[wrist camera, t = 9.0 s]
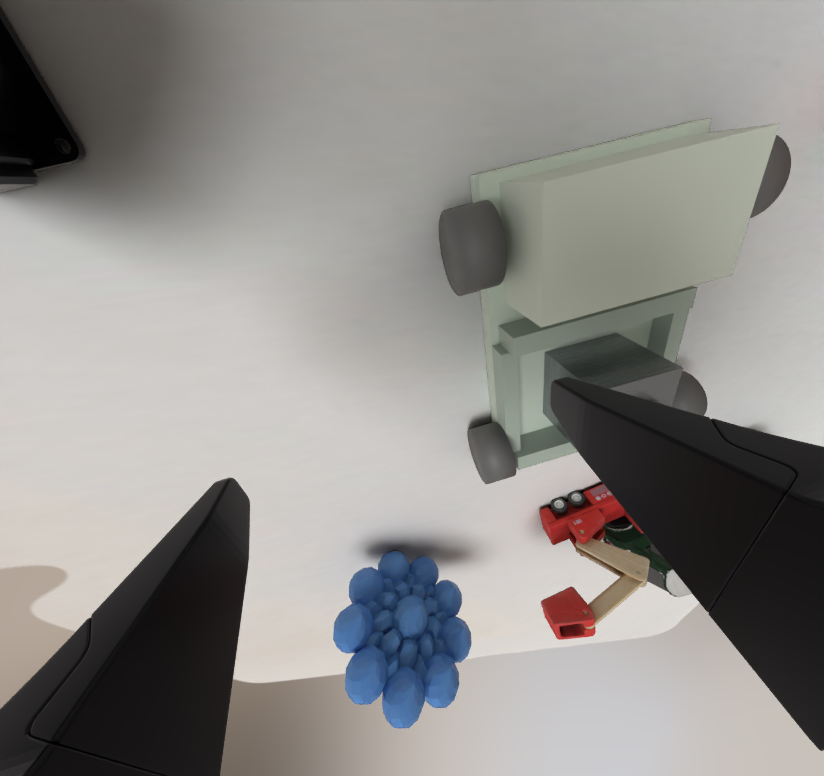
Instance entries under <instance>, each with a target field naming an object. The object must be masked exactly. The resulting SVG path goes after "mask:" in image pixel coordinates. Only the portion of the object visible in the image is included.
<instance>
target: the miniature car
mask: <svg viewBox="0 0 824 776" xmlns="http://www.w3.org/2000/svg"><path fill="white" fill-rule="evenodd" d="M605 524H606V525H608V526H609V527H607V526H605V527H604V526H603V528H604V530H605V536H604V537H603V539H602V540H601V542H605V543H607V544H610V545H612V546H615V547H618V548H621V549H623V550H626V551H629V552H632V553H634V554H637V555H640V556H643V557H646V558H647V559H649V561H650V563H649V571H648V577H647V581H648V582H650V583H652V584H654V585H656V586H658V587H660V588H662V589H664V590H665V591H667V592H669V593H670V594H671V595H673V596H676V597H682V596H685V595H689V594H692V593H691V591H690V590H689V589H688V588H687V586H686V585H685V584H684V583H683V581H682V580H681V579H680V578H679V576H678V575H677V574H676V573H675V572H674V570H673V569H672V568H671V567H670V565H669V564H668V563H667V562H666V560H665V559H664V558H663V557H662V555H661V554H660V553H659V552H658V550H657V549H656V548H655V547H654V546H653V544H652V543H651V542H650V541H649V539H648V538H647V537H646V536H645V534H644V533H641V532H640V531H639V530H638V529H637V528H636V527H635V526H634V525H633V524H632V523H631V522H630V521H629V519H628V518H627V517H626V516H625V515H624V516H622V517H619V518H617V519H615V520H612V521H610V522H607V523H605ZM606 527H607V528H606ZM603 540H604V541H603Z"/></svg>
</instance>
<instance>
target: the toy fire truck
mask: <svg viewBox="0 0 824 776" xmlns="http://www.w3.org/2000/svg"><path fill="white" fill-rule="evenodd" d="M568 501H569V502H567V503H566V502H565V500H563V499H561V498H556V499H554V500H553V501H552V502H551V508H552V509H549V508H548V507H546V508H544V509H541V510H540V511H539V513H540V517H541V520H542V524H543V528H544V530H545V532H546V533H547V535H548V537H549V539H550V540H551V543H552V544H553V545H555V544H557V543H560V542H562V541H565V540H567V539H570V541H571V542H572V543H573V545H574V547H575V548H576V552H578V553H579V554H580V555H581V556H585V557H586V558H588V559H590V560H592V561H593V562H595V563H597V564H599V565H601V566H602V567H604V568H606V569H608V570H609V571H611V572H613V573H615V574H616V575H618V576H620V578H619V579H618V580H617V581H615V582H614V583H613V584H612V585H611V586H609V587H608V588H607V589H606V590H605V591H604V592H602V593H601V594H600V595H599V596H598V597H596V598H595V599H594V600H593V601H592V602H591V603H589V604H588V605H587V603H586V602H585V601H584V600H583V598H582V597H581V596H580V595H579V594H578V592H577V591H576V590H575V589H574V588H573V587H569V588H567V589H565V590H563V591H561V592H559V593H557V594H555V595H553V596H550V597H548V598H546V599H544V600H542V601H541V605H542V607H543V611H544V614H545V618H546V619H547V621H548V623H549V625H550V627H551V628H552V630H553V632H554V634H555V636H556V637H557V639H571V638H580V637H590V636H593V635H594V634H595V625H596V624H597V623H599V622H600V621H601V620H602V619H603V618H605V617H606V616H607V615H608V614H609V613H611V612H612V611H613V610H614V609H615V608H616V607H617V606H618V605H620V604H621V603H622V602H623V601H624V600H626V599H627V598H628V597H629V596H630V595H631V594H632V593H634V592H635V591H636V590H637V589H638V588H639V587H645V586H646V583H647V577H648V571H649V563H650V561H649V559H647V558H646V557H643V556H640V555H637V554H634V553H632V552H629V551H626V550H623V549H621V548H618V547H615V546H612V545H610V544H607V543H604V542H601V540H602V539H603V537H604V536H605V530H604V528H603V524H605V523H607V522H610V521H612V520H615V519H617V518H619V517H622V516H624V515H625V516H626V517H627V518H628V519H629V521H630V522H631V523H632V524H633V525H634V526H635V527H636V528H637V529H638V530H639V531H640V532H641V533H643V532H642V531H641V529H640V528H639V527H638V526H637V524H636V523H635V522H634V521H633V520H632V518H631V517H630V516H629V515H628V513H627V512H626V511H625V510H624V508H623V507H622V506H621V505H620V503H619V502H618V501H617V500H616V498H615V497H614V496H613V495H612V494H611V492H610V491H609V490H608V489H607V487H606V486H605V485H604V484H601V485H599V486H596V487H595V488H591V489H590V490H587V491H585V492H583V495H582V494H581V493H579V492H571V493H570V494H569V495H568Z"/></svg>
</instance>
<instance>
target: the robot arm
mask: <svg viewBox="0 0 824 776" xmlns="http://www.w3.org/2000/svg"><path fill="white" fill-rule="evenodd" d="M62 140H66V141H67V142H68V143H69V144H70V147H71V152H70V153H67V152H66V151H65V150H64V149H63V148H62V145H61V143H62ZM84 157H85V149H84V147H83V144H82V142H81V141H80V139H79V137H78V136H77V134H76V132H75V131H74V129H73V127H72V126H71V124H70V122H69V121H68V119H67V117H66V116H65V114H64V112H63V111H62V109H61V107H60V106H59V104H58V102H57V101H56V99H55V97H54V96H53V94H52V92H51V91H50V89H49V87H48V86H47V84H46V82H45V81H44V79H43V77H42V76H41V74H40V72H39V71H38V69H37V67H36V66H35V64H34V62H33V61H32V59H31V57H30V56H29V54H28V52H27V51H26V49H25V47H24V46H23V44H22V42H21V41H20V39H19V37H18V36H17V34H16V32H15V31H14V29H13V27H12V26H11V24H10V22H9V21H8V19H7V17H6V16H5V14H4V12H3V11H2V9H1V7H0V193H2V192H6V191H10V190H15V189H19V188H23V187H28V186H32V185H36V184H37V181H38V178H39V177H38V176H37V174H36V173H35V172H36V171H40V170H45V169H49V168H54V167H58V166H62V165H67V164H71V163H76V162H79V161H81V160H83V159H84ZM550 406H551V409H552V411H553V413H554V415H555V416H556V418H557V419H558V421H559V423H560V424H561V426H562V427H563V429H564V430H565V432H566V434H567V435H568V437H569V438H570V440H571V441H572V443H573V445H574V446H575V448H576V449H577V451H578V452H579V454H580V455H581V456H582V457H583V459H584V460H585V461H586V463H587V464H588V465H589V466H590V468H591V469H592V470H593V471H594V472H595V474H596V475H597V476H598V477H599V479H600V480H601V481H602V482H603V484H604V485H605V486H606V487H607V489H608V490H609V491H610V492H611V494H612V495H613V496H614V497H615V498H616V500H617V501H618V502H619V503H620V505H621V506H622V507H623V508H624V510H625V511H626V512H627V513H628V515H629V516H630V517H631V518H632V520H633V521H634V522H635V523H636V524H637V526H638V527H639V528H640V529H641V531H642V532H643V533H644V534H645V536H646V537H647V538H648V539H649V541H650V542H651V543H652V544H653V546H654V547H655V548H656V549H657V550H658V552H659V553H660V554H661V555H662V557H663V558H664V559H665V560H666V562H667V563H668V564H669V565H670V567H671V568H672V569H673V570H674V572H675V573H676V574H677V575H678V576H679V578H680V579H681V580H682V581H683V583H684V584H685V585H686V586H687V588H688V589H689V590H690V591H691V593H692V594H693V595H694V596H695V598H696V599H697V600H698V601H699V602H700V604H701V605H702V606H703V607H704V609H705V610H706V611H707V612H709V615H710V616H711V618H712V619H713V620H714V621H715V623H716V624H717V625H718V626H719V627H720V629H721V630H722V631H723V633H724V634H725V635H726V636H727V637H728V639H729V640H730V641H731V642H732V644H733V645H734V646H735V647H736V649H737V650H738V651H739V652H740V654H741V655H742V656H743V657H744V659H745V660H746V661H747V662H748V663H749V665H750V666H751V667H752V668H753V670H754V671H755V672H756V673H757V675H758V676H759V677H760V678H761V679H762V681H763V682H764V683H765V684H766V686H767V687H768V688H769V689H770V691H771V692H772V693H773V694H774V696H775V697H776V698H777V699H778V701H779V702H780V703H781V704H782V706H783V707H784V708H785V709H786V710H787V712H788V713H789V714H790V715H791V717H792V718H793V719H794V720H795V722H796V723H797V724H798V725H799V727H800V728H801V729H802V730H803V732H804V733H805V734H806V735H807V736H808V738H809V739H810V740H811V741H812V742H813V743H814V744H815V745H816V747H817V748H818V749H819V750H821V751H823V750H824V447H822V446H817V445H813V444H809V443H805V442H800V441H796V440H792V439H788V438H784V437H780V436H776V435H771V434H767V433H763V432H759V431H756V430H752V429H748V428H745V427H741V426H737V425H734V424H730V423H727V422H723V421H720V420H716V419H710V418H709V417H706V416H702V415H699V414H695V413H692V412H688V411H685V410H681V409H678V408H674V407H671V406H667V405H664V404H660V403H657V402H654V401H650V400H647V399H643V398H640V397H636V396H633V395H629V394H626V393H622V392H619V391H615V390H612V389H608V388H605V387H601V386H598V385H594V384H591V383H587V382H584V381H580V380H577V379H573V378H570V377H562V378H559V379H556V380H553V381H552V383H551V393H550ZM249 529H250V501H249V498H248V496H247V495H246V493H245V492H244V491H243V489H242V488H241V487H240V485H239V484H238V482H237V481H236V480H235V479H234V478H227V479H223V480H220V481H217V482H215V483H214V484H213V485H212V486H211V487H210V488H209V489H208V490H207V492H206V493H205V494H204V495H203V496H202V497H201V498H200V499H199V500H198V501H197V502H196V503H195V504H194V506H193V507H192V508H191V509H190V510H189V511H188V512H187V513H186V514H185V515H184V516H183V517H182V518H181V519H180V521H179V522H178V523H177V524H176V525H175V526H174V527H173V528H172V529H171V530H170V531H169V532H168V533H167V534H166V536H165V537H164V538H163V539H162V540H161V541H160V542H159V543H158V544H157V545H156V546H155V547H154V548H153V549H152V551H151V552H150V553H149V554H148V555H147V556H146V557H145V558H144V559H143V560H142V561H141V562H140V563H139V565H138V566H137V567H136V568H135V569H134V570H133V571H132V572H131V573H130V574H129V575H128V576H127V577H126V578H125V580H124V581H123V582H122V583H121V584H120V585H119V586H118V587H117V588H116V589H115V590H114V591H113V592H112V593H111V595H110V596H109V597H108V598H107V599H106V600H105V601H104V602H103V603H102V604H101V605H100V606H99V607H98V608H97V610H96V611H95V612H94V613H93V614H92V616H91V618H89V619H87V620H86V621H85V622H84V623H83V624H82V626H81V627H80V628H79V629H78V630H77V631H76V632H75V633H74V635H72V636H71V637H70V639H69V640H68V641H67V642H66V643H65V644H64V645H63V646H62V647H61V648H60V649H59V650H58V651H57V652H56V653H55V654H54V655H53V656H52V657H51V658H50V659H49V661H48V662H47V663H46V664H45V665H44V666H43V667H42V668H41V669H40V670H39V671H38V672H37V673H36V674H35V675H34V676H33V677H32V678H31V679H30V680H29V681H28V682H27V683H26V684H25V685H24V686H23V687H22V688H21V689H20V690H19V691H18V692H17V693H16V694H15V695H14V696H13V697H12V698H11V699H10V700H9V701H8V702H7V703H6V704H5V705H4V706H3V707H2V708H1V709H0V776H220V770H221V762H222V755H223V748H224V741H225V733H226V725H227V718H228V710H229V703H230V696H231V688H232V680H233V674H234V666H235V659H236V651H237V644H238V636H239V629H240V621H241V614H242V607H243V599H244V592H245V584H246V577H247V569H248V560H249Z"/></svg>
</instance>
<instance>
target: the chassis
mask: <svg viewBox="0 0 824 776" xmlns="http://www.w3.org/2000/svg"><path fill="white" fill-rule="evenodd" d="M711 119H712V118H709V119H703V120H697V121H691V122H687V123H683V124H679V125H675V126H671V127H666V128H662V129H658V130H654V131H650V132H646V133H642V134H638V135H634V136H630V137H626V138H622V139H617V140H613V141H609V142H605V143H601V144H597V145H593V146H589V147H585V148H581V149H577V150H573V151H568V152H564V153H560V154H556V155H552V156H548V157H544V158H540V159H536V160H532V161H528V162H524V163H519V164H515V165H511V166H507V167H503V168H499V169H495V170H491V171H487V172H483V173H479V174H475V175H471V176H470V183H471V195H472V203H471V204H467V205H463V206H459V207H455V208H451V209H447V210H444V211H442V213H441V215H440V220H439V240H440V249H441V255H442V260H443V264H444V268H445V272H446V275H447V278H448V281H449V283H450V285H451V287H452V289H453V291H454V292H455V293H456V294H457V295H458V296H461V295H465V294H469V293H472V292H476V291H480V295H481V306H482V317H483V329H484V340H485V351H486V362H487V373H488V384H489V396H490V407H491V418H492V423H489V424H486V425H482V426H479V427H475V428H472V429H469V430H468V442H469V446H470V450H471V454H472V457H473V460H474V463H475V465H476V468H477V470H478V473H479V475H480V477H481V478H482V480H483V482H484V483H485V484H489V483H493V482H496V481H499V480H503V479H506V478H509V477H512V476H515V475H516V467H517V469H518V470H519V469H523V468H526V467H529V466H533V465H536V464H539V463H543V462H546V461H549V460H553V459H556V458H559V457H562V456H566V455H569V454H572V453H576V452H578V451H577V450H576V449H575V448H574V447H573V446H572V444H571V443H570V442H569V441H568V440H567V439H566V438H565V437H564V436H563V435H562V434H561V432H560V431H559V430H558V429H557V428H556V427H555V426H554V425H553V424H552V423H551V421H550V420H549V419H548V418H547V417H546V416H545V415H544V414H543V387H544V356H545V352H546V351H550V350H554V349H557V348H561V347H565V346H569V345H572V344H576V343H580V342H583V341H587V340H591V339H595V338H598V337H602V336H606V335H609V334H613V333H618V334H620V335H622V336H624V337H626V338H628V339H630V340H632V341H633V342H635V343H637V344H639V345H641V346H643V347H645V348H647V349H649V350H650V351H652V352H654V353H656V354H658V355H660V356H662V357H664V358H666V359H668V360H669V361H671V362H673V363H675V361H676V357H677V353H678V350H679V346H680V342H681V338H682V334H683V331H684V327H685V323H686V319H687V315H688V311H689V308H692V306H693V303H694V299H695V295H696V291H697V288H698V287H694V286H693V285H697V284H700V283H704V282H708V281H711V280H715V279H718V278H722V277H726V276H729V275H732V273H733V270H734V267H735V264H736V260H737V257H738V254H739V251H740V248H741V245H742V241H743V238H744V235H745V232H746V229H747V226H748V222H749V219H750V218H752V217H754V216H756V215H758V214H760V213H761V212H763V211H764V210H765V209H767V208H768V207H769V206H770V205H771V204H772V203H773V202H774V201H775V200H776V199H777V197H778V196H779V195H780V193H781V192H782V190H783V188H784V186H785V184H786V182H787V180H788V177H789V173H790V168H791V157H790V152H789V148H788V146H787V145H786V143H785V142H784V140H783V139H782V138H780V137H779V136H777V135H776V134H777V131H778V128H779V125H780V123H779V124H771V125H763V126H756V127H748V128H741V129H733V130H726V131H718V132H711V133H708V132H709V127H710V123H711ZM672 407H674V408H678V409H681V410H685V411H688V412H692V413H695V414H699V415H702V416H704V414H705V412H706V409H707V397H706V394H705V391H704V389H703V387H702V386H701V384H700V383H699V382H698V381H697V380H696V379H695V378H694V377H693V376H692V375H690V374H689V373H687V372H685V371H682V373H681V377H680V380H679V384H678V387H677V390H676V394H675V397H674V401H673V404H672Z"/></svg>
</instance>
